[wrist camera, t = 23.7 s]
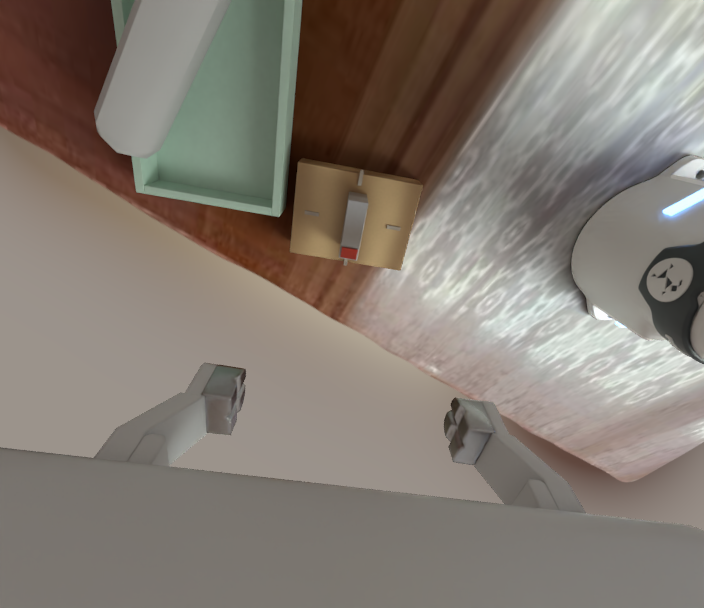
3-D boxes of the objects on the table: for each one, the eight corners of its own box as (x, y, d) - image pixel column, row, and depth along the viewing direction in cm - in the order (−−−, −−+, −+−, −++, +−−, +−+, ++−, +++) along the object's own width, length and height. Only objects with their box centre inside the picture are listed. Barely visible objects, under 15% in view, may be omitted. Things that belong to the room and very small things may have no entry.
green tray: (322, -243, 22) (316, -301, 19) (285, 208, 37) (279, 217, 34) (104, -305, 21) (60, -377, 18) (155, 185, 36) (135, 192, 32)
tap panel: (419, 176, 35) (424, 181, 32) (396, 263, 40) (399, 274, 37) (302, 154, 34) (297, 157, 31) (293, 245, 39) (288, 255, 36)
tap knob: (348, 191, 33) (348, 200, 29) (367, 194, 33) (368, 203, 30) (339, 245, 35) (338, 258, 32) (356, 247, 36) (357, 262, 32)
